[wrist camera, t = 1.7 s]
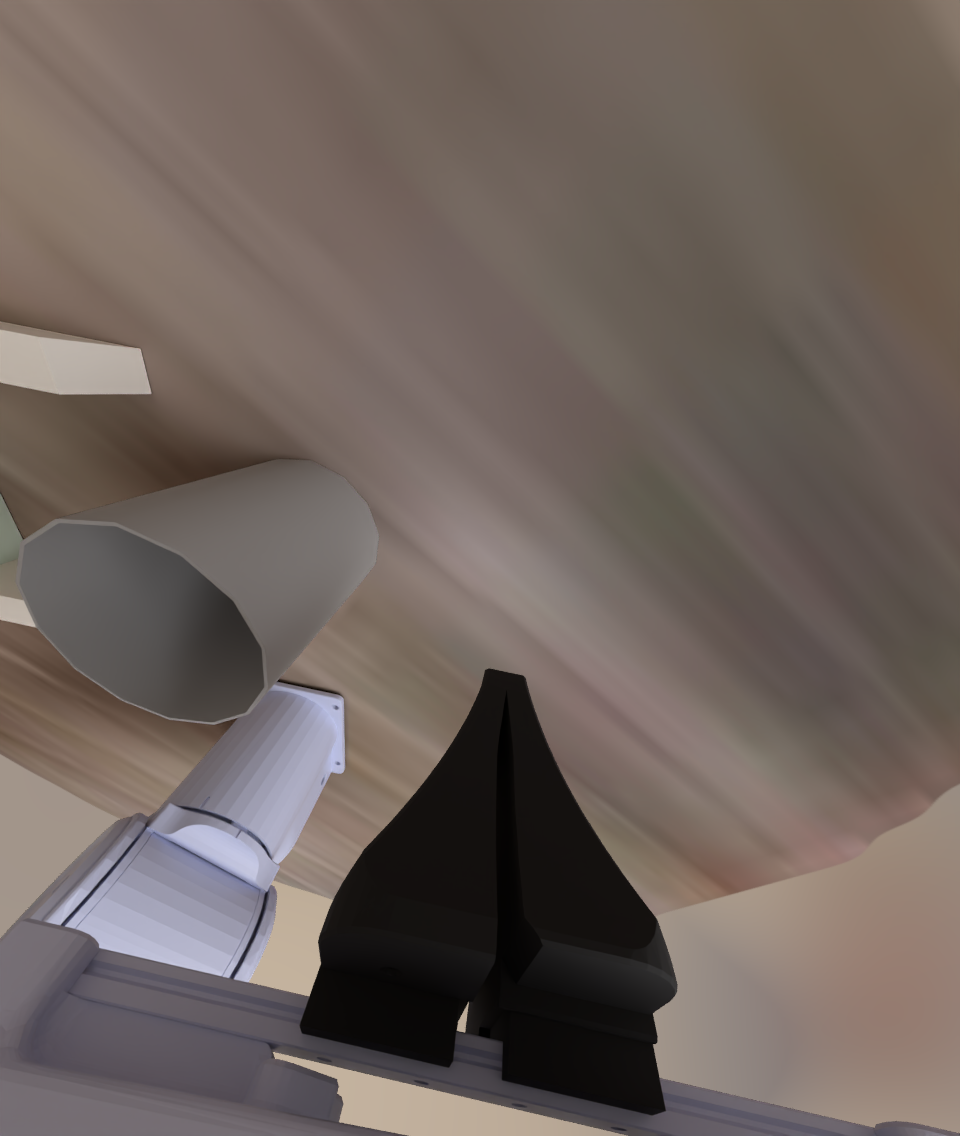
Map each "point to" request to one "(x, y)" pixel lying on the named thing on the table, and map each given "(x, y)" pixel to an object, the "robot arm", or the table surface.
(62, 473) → the table surface
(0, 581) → the stall
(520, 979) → the robot arm
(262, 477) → the cup
